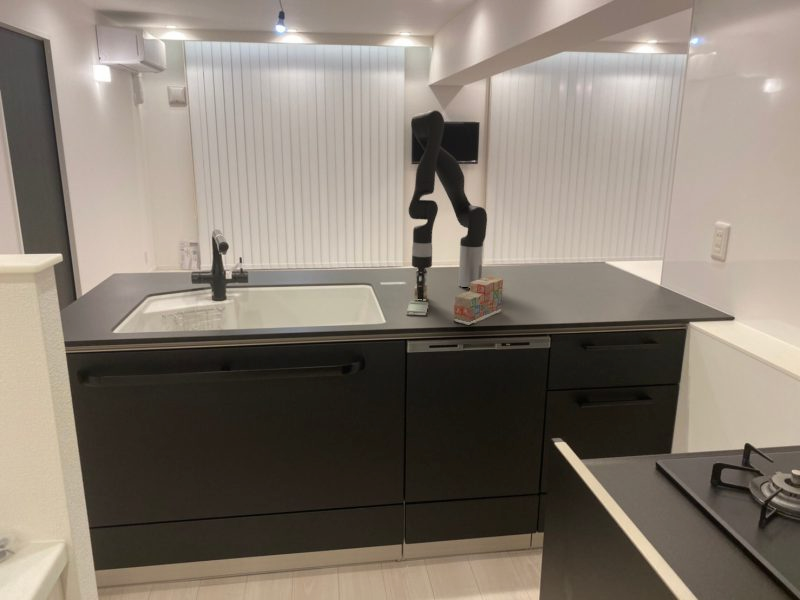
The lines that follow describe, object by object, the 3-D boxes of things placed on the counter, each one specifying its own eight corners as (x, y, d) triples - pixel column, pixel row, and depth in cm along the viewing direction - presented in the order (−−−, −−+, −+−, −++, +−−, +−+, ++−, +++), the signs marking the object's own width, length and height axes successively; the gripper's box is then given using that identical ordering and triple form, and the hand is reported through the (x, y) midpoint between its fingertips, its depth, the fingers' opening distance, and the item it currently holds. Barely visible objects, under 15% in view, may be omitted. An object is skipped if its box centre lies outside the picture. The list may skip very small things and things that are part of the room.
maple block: (427, 298, 226) (427, 285, 225) (426, 301, 222) (426, 288, 221) (415, 297, 227) (415, 285, 226) (414, 301, 223) (414, 288, 221)
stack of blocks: (469, 326, 194) (471, 290, 190) (453, 322, 198) (454, 287, 194) (501, 312, 210) (503, 278, 207) (485, 309, 214) (487, 276, 210)
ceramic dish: (428, 306, 216) (428, 302, 215) (426, 315, 204) (426, 311, 204) (409, 305, 216) (409, 301, 216) (406, 314, 205) (406, 310, 204)
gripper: (431, 258, 213) (429, 303, 217) (433, 250, 226) (431, 294, 231) (410, 257, 213) (409, 303, 218) (413, 250, 227) (412, 293, 232)
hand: (420, 298), depth 224 cm, fingers closed on maple block, 4 cm apart
